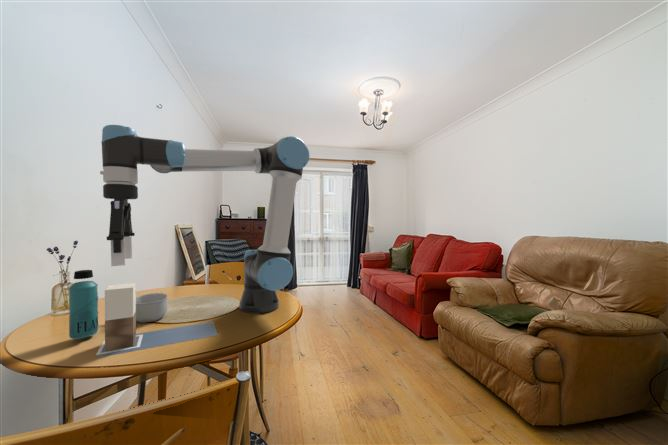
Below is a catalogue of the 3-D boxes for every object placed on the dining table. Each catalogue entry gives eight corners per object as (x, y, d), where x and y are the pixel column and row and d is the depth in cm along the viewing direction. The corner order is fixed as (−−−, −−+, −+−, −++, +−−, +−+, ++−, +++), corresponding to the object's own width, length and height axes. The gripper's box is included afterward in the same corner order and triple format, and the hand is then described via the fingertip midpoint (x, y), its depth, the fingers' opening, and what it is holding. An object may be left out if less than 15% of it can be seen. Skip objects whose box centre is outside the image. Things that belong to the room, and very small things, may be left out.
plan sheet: (212, 322, 94) (212, 321, 94) (217, 336, 83) (217, 334, 83) (105, 340, 80) (105, 338, 80) (93, 359, 69) (93, 357, 69)
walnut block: (135, 337, 81) (135, 310, 81) (133, 346, 76) (133, 316, 76) (109, 342, 78) (109, 313, 78) (105, 351, 73) (104, 320, 73)
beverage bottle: (73, 346, 76) (72, 273, 76) (64, 340, 80) (64, 270, 79) (102, 338, 82) (102, 269, 81) (93, 332, 85) (93, 267, 85)
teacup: (174, 315, 101) (174, 293, 101) (152, 327, 90) (152, 302, 90) (139, 313, 102) (139, 292, 102) (112, 325, 92) (112, 300, 91)
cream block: (135, 310, 81) (135, 282, 81) (133, 316, 76) (133, 287, 76) (109, 313, 78) (109, 285, 78) (104, 320, 73) (104, 290, 73)
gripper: (112, 187, 85) (114, 257, 86) (91, 178, 64) (93, 270, 64) (142, 188, 89) (143, 255, 89) (131, 180, 67) (133, 267, 68)
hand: (122, 261), depth 77 cm, fingers open, 13 cm apart
